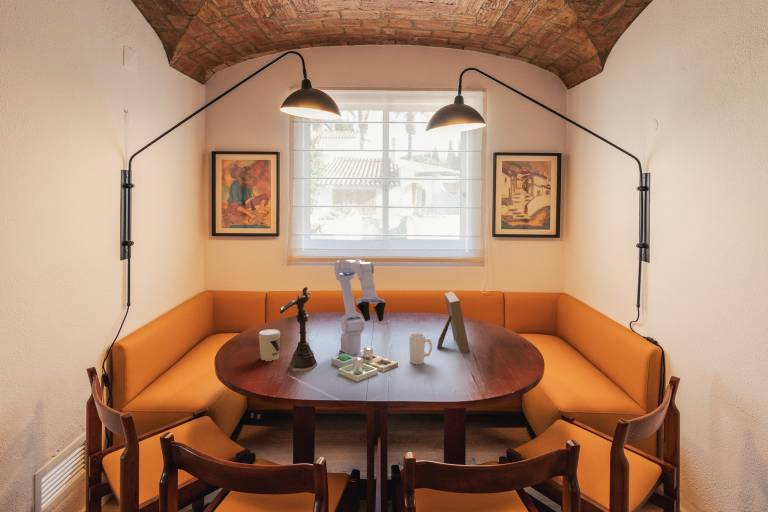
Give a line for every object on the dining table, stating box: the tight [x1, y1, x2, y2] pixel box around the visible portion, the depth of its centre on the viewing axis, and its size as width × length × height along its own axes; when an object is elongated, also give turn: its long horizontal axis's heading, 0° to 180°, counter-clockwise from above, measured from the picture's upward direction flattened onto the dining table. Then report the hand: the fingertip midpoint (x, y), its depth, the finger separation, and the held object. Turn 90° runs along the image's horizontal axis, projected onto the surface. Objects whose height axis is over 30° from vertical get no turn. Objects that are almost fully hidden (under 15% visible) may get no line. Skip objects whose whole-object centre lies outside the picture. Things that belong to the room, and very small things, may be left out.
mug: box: [409, 332, 433, 365], centre depth 180 cm, size 10×7×12 cm, turn 82°
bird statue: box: [279, 286, 318, 373], centre depth 171 cm, size 17×13×35 cm
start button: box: [338, 353, 350, 361], centre depth 176 cm, size 4×4×3 cm
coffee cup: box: [258, 328, 281, 362], centre depth 183 cm, size 9×9×12 cm
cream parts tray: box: [354, 353, 399, 373], centre depth 177 cm, size 18×9×2 cm, turn 46°
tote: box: [338, 363, 379, 382], centre depth 166 cm, size 11×11×2 cm
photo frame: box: [436, 291, 470, 354], centre depth 203 cm, size 15×22×25 cm
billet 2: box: [363, 346, 374, 360], centre depth 180 cm, size 4×4×6 cm
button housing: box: [331, 355, 356, 368], centre depth 176 cm, size 8×8×3 cm
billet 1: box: [353, 356, 363, 375], centre depth 166 cm, size 4×4×6 cm
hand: (374, 320), depth 168 cm, fingers open, 7 cm apart
